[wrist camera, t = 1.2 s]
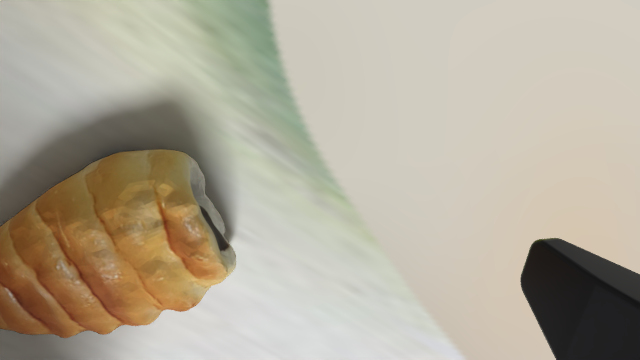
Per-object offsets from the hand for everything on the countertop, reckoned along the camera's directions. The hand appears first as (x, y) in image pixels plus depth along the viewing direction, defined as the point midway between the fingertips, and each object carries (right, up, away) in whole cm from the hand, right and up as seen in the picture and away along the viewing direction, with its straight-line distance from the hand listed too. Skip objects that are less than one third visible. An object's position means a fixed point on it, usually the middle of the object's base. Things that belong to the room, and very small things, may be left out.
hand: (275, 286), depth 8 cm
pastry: (-7, 0, +14) cm, 15 cm away
